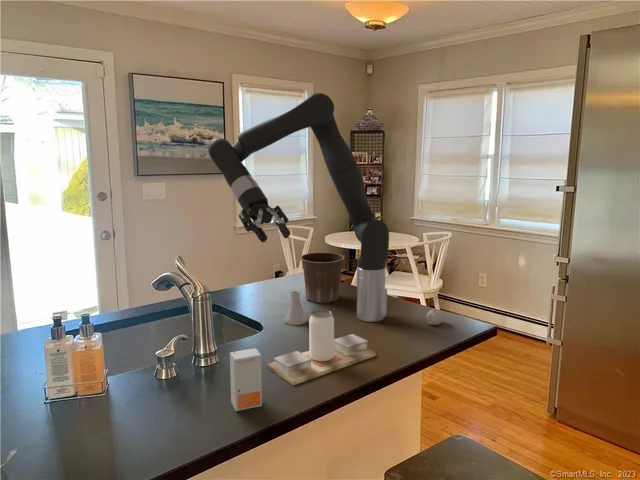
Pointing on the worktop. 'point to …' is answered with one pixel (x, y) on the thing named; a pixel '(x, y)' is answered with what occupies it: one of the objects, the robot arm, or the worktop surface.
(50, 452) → the worktop surface
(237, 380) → the skincare box
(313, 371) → the tray with two blocks
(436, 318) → the garlic
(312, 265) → the plant pot
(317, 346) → the can
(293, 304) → the flask
